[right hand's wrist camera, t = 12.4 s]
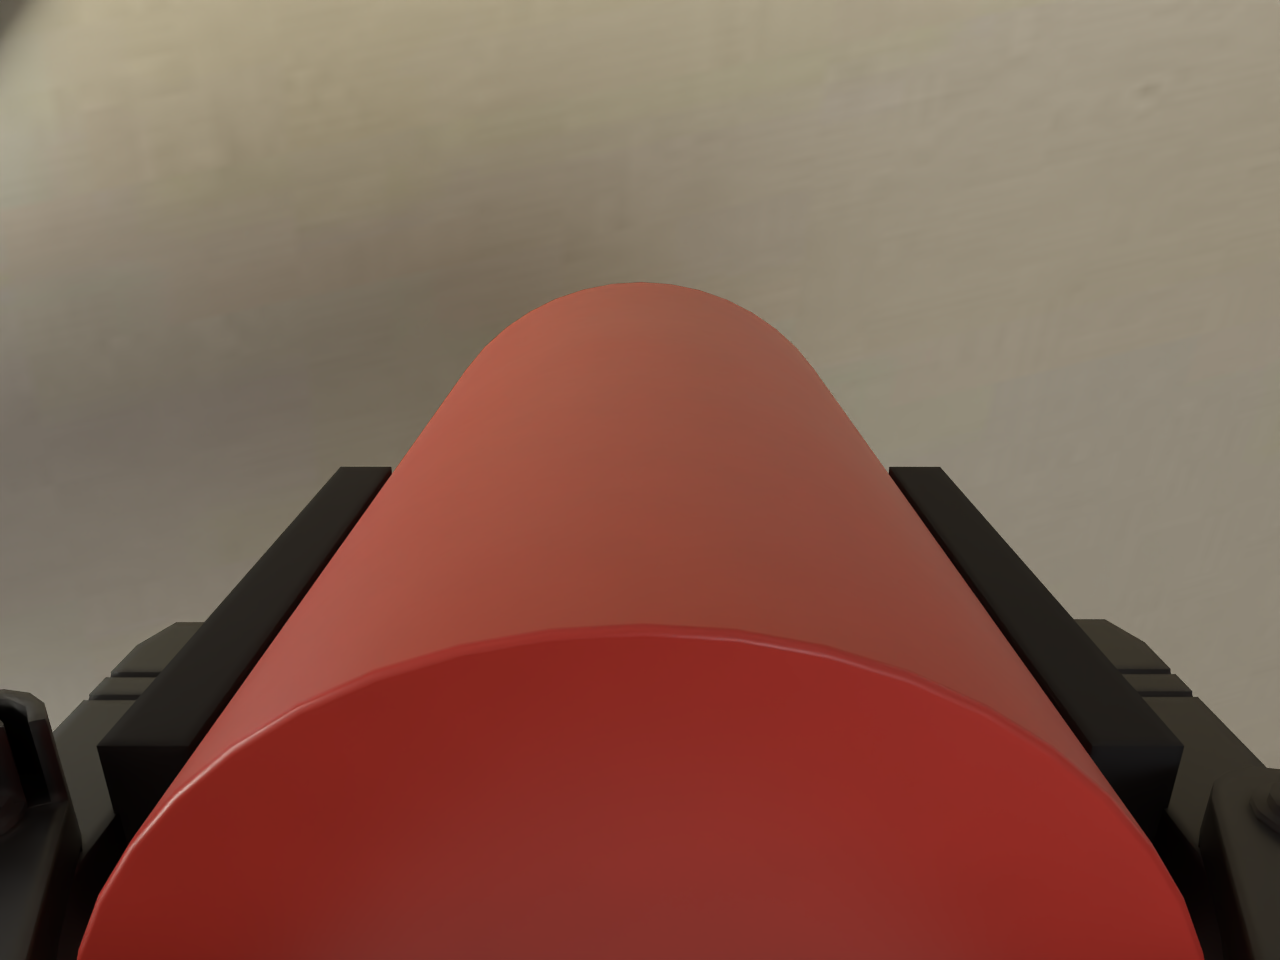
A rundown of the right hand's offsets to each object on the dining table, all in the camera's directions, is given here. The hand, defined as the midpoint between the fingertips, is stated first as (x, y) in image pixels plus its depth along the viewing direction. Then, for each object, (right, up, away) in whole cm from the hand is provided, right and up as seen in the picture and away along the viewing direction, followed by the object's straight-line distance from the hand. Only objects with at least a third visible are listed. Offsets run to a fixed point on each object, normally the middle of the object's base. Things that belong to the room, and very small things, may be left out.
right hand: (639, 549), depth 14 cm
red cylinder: (0, +1, +2) cm, 3 cm away
